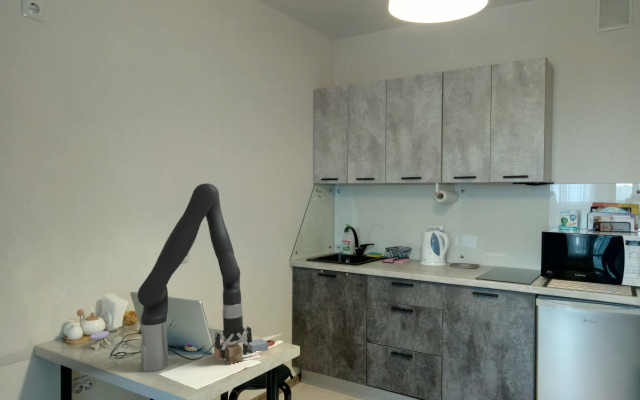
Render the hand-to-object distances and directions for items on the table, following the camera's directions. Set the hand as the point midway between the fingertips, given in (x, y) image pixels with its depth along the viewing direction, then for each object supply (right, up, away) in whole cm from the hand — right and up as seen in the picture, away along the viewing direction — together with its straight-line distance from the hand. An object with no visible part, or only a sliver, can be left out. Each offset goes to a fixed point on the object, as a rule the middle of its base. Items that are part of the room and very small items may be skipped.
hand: (234, 356), depth 175 cm
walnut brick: (0, -2, 0) cm, 2 cm away
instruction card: (+5, -2, +4) cm, 7 cm away
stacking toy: (-20, -3, +16) cm, 26 cm away
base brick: (+7, -2, +14) cm, 15 cm away
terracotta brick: (-6, -2, +6) cm, 9 cm away
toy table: (-63, -4, +22) cm, 67 cm away
